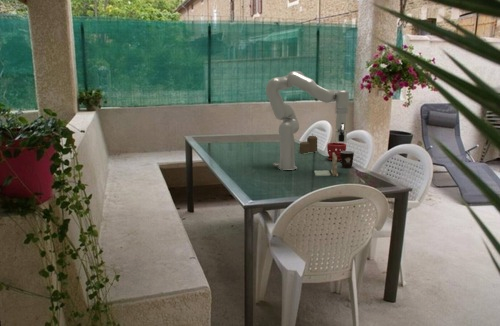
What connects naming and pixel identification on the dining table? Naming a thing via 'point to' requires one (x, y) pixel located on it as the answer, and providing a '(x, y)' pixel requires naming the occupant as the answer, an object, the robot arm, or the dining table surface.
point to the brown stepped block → (309, 145)
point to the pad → (322, 173)
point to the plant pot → (332, 148)
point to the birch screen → (334, 165)
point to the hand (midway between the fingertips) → (340, 140)
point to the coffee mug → (346, 158)
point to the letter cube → (338, 136)
